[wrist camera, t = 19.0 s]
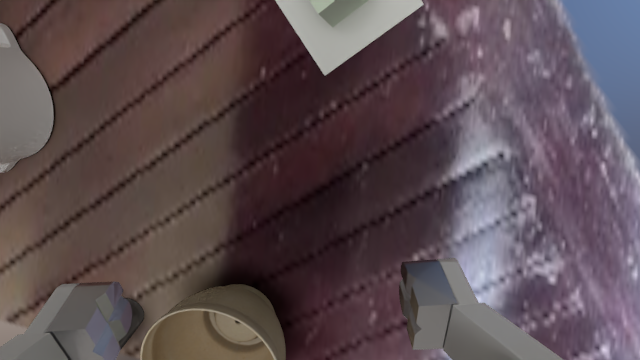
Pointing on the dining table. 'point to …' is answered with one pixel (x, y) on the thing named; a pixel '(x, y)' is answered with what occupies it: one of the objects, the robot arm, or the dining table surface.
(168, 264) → the dining table surface
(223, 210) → the dining table surface
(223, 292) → the planter bowl
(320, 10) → the block
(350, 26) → the mat
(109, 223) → the dining table surface
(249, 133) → the dining table surface
